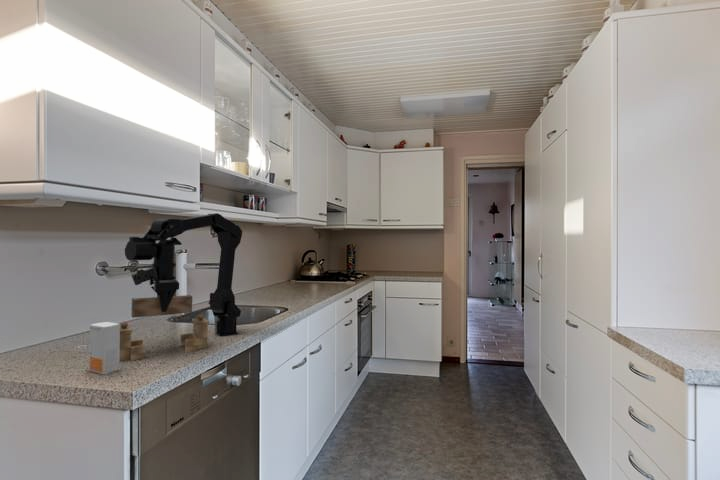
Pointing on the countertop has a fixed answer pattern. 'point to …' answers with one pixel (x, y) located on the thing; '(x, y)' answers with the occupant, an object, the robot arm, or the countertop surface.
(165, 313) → the rail
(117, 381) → the countertop surface
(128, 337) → the wooden stepped supports
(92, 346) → the skincare box
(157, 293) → the robot arm
